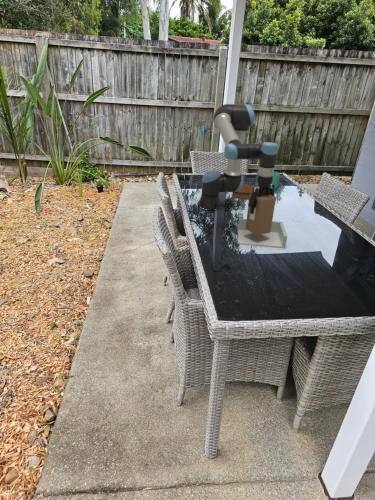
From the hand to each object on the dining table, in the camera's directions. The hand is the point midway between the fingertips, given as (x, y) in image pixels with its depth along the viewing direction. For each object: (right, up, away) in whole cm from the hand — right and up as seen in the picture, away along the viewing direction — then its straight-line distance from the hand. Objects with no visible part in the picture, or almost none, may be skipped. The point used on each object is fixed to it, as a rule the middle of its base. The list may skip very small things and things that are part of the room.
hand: (259, 217), depth 170 cm
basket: (+27, +34, +97) cm, 107 cm away
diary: (+6, +24, +78) cm, 82 cm away
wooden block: (0, -7, +4) cm, 8 cm away
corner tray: (+2, -11, +6) cm, 13 cm away
